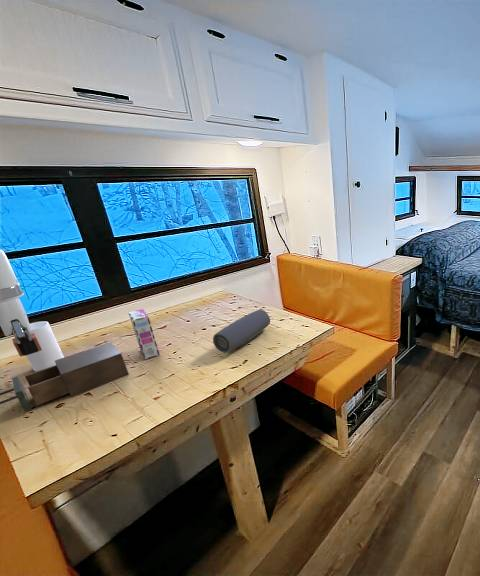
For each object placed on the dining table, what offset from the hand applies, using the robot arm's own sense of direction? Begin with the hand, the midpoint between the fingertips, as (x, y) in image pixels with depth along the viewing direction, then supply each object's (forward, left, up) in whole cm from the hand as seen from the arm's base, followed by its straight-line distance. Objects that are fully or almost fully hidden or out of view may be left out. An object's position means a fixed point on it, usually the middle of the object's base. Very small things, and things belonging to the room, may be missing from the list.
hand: (29, 350), depth 90 cm
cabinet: (+10, +3, -17) cm, 20 cm away
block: (0, 0, 0) cm, 0 cm away
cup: (-5, +25, -17) cm, 30 cm away
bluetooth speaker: (+57, -3, -17) cm, 60 cm away
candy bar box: (+25, +12, -17) cm, 33 cm away
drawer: (-3, -1, -16) cm, 16 cm away
